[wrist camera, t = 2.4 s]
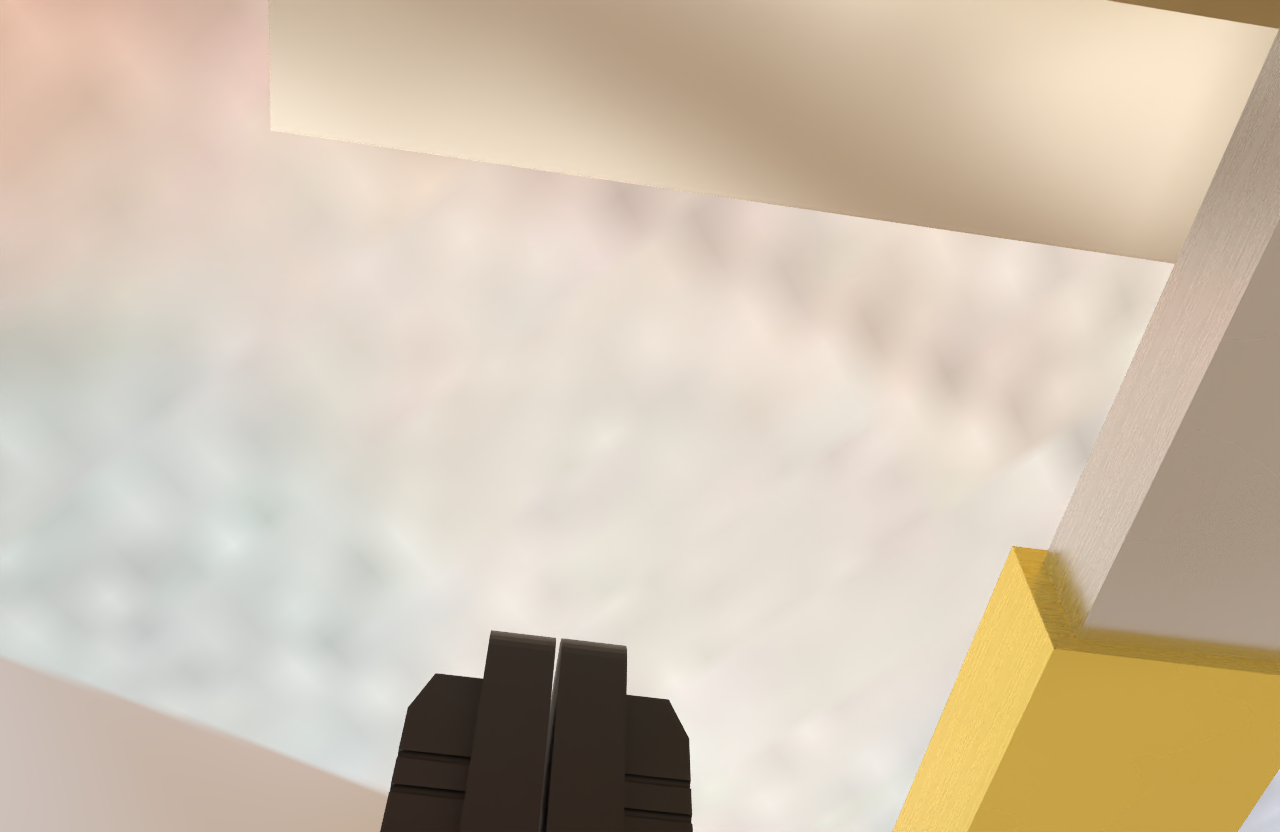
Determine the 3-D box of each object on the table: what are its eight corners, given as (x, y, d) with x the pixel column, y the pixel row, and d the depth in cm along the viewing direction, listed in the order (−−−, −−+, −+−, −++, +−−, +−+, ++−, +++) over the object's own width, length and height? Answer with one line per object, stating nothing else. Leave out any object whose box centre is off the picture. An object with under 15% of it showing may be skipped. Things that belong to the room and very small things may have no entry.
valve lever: (1367, -495, 9) (1615, -535, 7) (1725, -421, 9) (2077, -435, 7) (859, 808, 18) (892, 989, 15) (1055, 829, 18) (1118, 1010, 16)
